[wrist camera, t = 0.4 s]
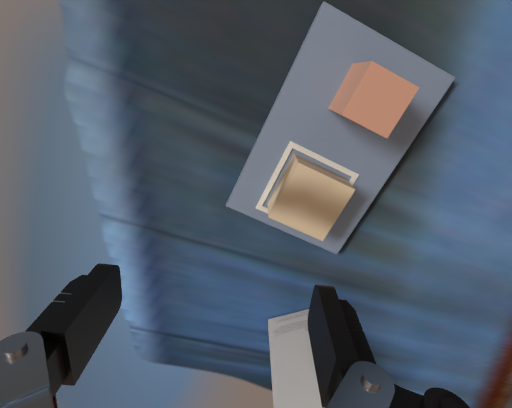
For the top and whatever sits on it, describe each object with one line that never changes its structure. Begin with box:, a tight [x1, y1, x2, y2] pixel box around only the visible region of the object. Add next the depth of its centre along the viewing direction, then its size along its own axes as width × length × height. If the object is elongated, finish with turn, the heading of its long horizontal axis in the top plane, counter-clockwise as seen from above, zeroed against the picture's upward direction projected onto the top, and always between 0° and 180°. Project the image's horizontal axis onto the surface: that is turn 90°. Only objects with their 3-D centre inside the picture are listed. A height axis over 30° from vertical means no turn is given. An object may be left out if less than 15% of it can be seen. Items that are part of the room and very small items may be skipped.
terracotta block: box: [328, 61, 419, 138], centre depth 31 cm, size 5×5×6 cm
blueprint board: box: [226, 2, 455, 254], centre depth 36 cm, size 24×16×1 cm, turn 154°
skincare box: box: [268, 309, 322, 408], centre depth 40 cm, size 8×7×16 cm
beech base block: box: [267, 154, 355, 241], centre depth 36 cm, size 7×7×4 cm
